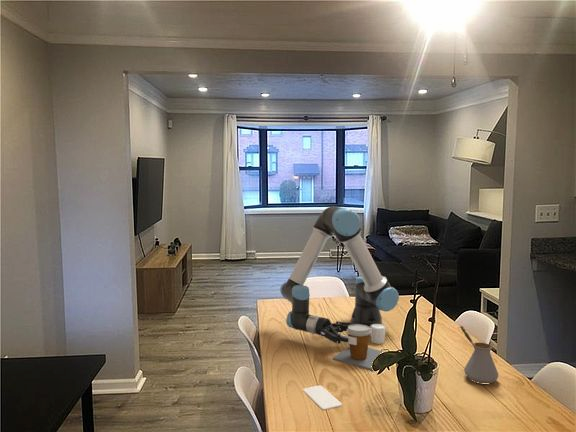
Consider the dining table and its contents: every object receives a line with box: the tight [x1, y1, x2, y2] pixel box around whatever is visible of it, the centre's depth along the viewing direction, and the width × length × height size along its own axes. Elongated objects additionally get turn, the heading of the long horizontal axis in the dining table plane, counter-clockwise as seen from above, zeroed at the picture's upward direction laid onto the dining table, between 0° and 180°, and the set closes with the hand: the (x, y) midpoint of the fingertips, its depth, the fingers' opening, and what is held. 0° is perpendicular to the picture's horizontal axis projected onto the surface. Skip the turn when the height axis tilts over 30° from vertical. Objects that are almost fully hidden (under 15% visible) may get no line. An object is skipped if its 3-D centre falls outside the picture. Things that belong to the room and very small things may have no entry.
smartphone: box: [302, 384, 343, 411], centre depth 152 cm, size 7×1×15 cm
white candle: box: [369, 323, 387, 345], centre depth 202 cm, size 7×7×7 cm
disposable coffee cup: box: [346, 324, 371, 360], centre depth 182 cm, size 10×10×12 cm
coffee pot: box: [457, 325, 499, 384], centre depth 170 cm, size 21×12×15 cm, turn 8°
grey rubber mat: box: [332, 346, 385, 371], centre depth 184 cm, size 18×18×1 cm
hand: (364, 336), depth 183 cm, fingers open, 13 cm apart
